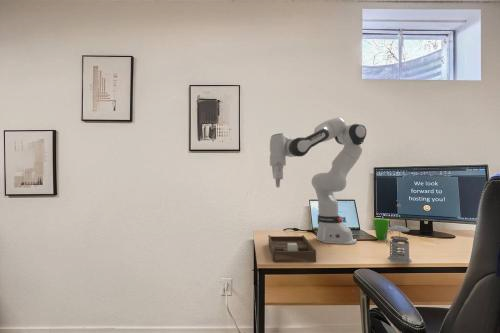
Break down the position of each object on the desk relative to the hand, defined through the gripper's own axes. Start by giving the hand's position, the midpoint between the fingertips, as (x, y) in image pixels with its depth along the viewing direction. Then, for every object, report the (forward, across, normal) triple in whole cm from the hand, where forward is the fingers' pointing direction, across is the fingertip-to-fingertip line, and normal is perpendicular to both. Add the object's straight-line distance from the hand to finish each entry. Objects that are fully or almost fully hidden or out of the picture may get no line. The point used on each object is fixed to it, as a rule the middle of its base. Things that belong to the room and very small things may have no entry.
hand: (277, 187), depth 161 cm
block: (+29, -27, -4) cm, 40 cm away
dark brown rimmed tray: (+31, -18, -4) cm, 36 cm away
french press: (+31, -29, -51) cm, 67 cm away
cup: (+31, +9, -62) cm, 70 cm away
